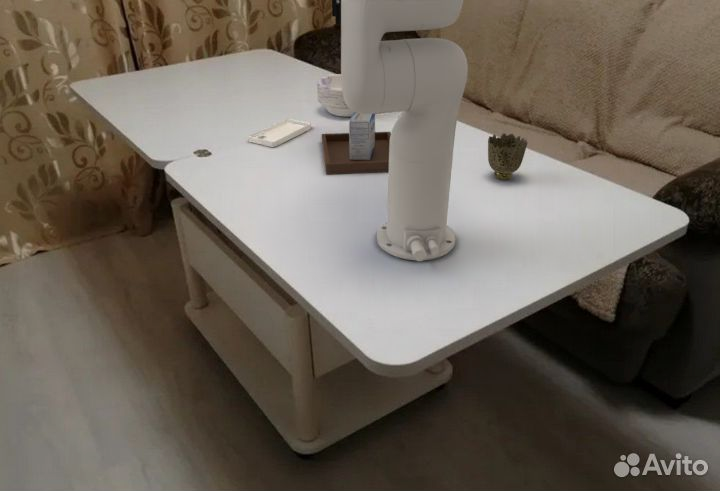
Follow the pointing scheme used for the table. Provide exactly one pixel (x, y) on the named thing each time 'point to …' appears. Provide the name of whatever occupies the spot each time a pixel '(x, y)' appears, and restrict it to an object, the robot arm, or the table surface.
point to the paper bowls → (333, 95)
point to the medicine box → (362, 136)
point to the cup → (505, 155)
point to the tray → (339, 154)
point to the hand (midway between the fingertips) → (341, 20)
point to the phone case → (279, 132)
